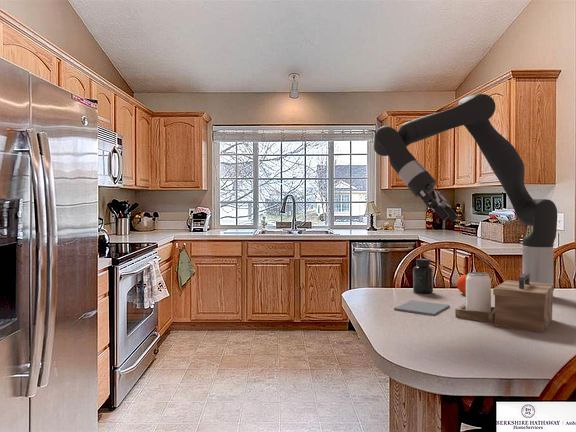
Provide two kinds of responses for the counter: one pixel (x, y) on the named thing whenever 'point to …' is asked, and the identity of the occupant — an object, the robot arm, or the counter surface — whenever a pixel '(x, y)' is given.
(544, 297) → the toolbox
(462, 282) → the clementine
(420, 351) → the counter surface
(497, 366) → the counter surface
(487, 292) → the can
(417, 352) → the counter surface
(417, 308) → the mat
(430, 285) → the supplement bottle
